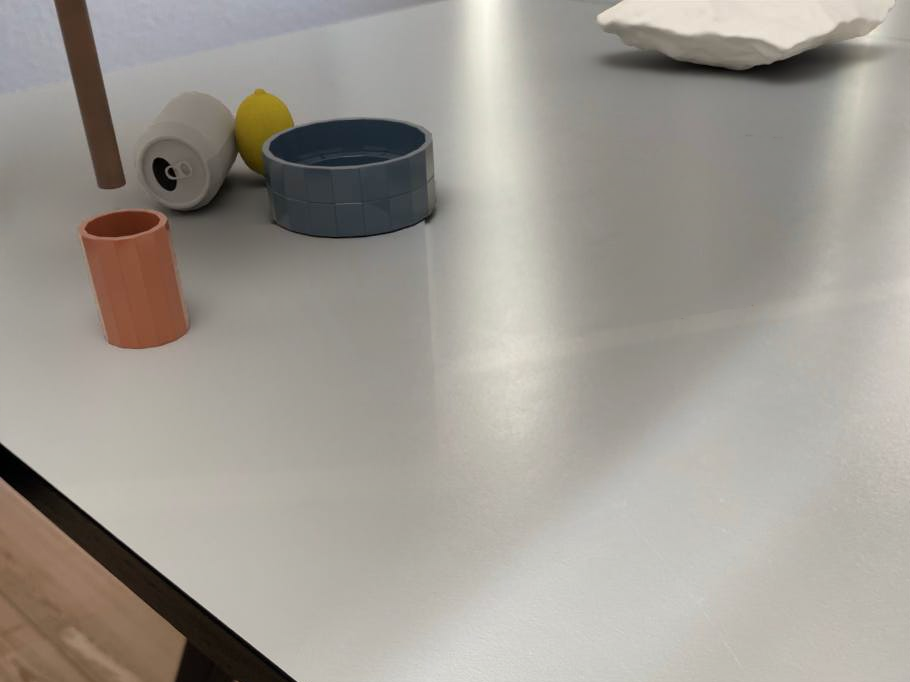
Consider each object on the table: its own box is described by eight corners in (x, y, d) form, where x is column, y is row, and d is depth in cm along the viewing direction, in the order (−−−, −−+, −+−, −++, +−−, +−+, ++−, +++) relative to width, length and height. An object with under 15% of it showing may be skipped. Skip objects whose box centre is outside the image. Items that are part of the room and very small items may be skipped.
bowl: (266, 248, 92) (254, 172, 88) (279, 190, 103) (269, 121, 99) (438, 239, 92) (434, 163, 88) (434, 183, 103) (430, 113, 99)
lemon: (236, 177, 106) (221, 86, 101) (292, 168, 108) (280, 77, 102) (251, 194, 102) (236, 100, 97) (309, 184, 104) (298, 91, 99)
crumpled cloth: (931, 70, 122) (946, -27, 118) (612, 81, 121) (615, -16, 117) (859, 56, 142) (870, -28, 138) (585, 65, 142) (587, -18, 137)
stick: (95, 190, 72) (2, -197, 59) (100, 181, 73) (11, -199, 61) (123, 189, 72) (37, -198, 59) (128, 180, 73) (45, -200, 61)
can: (147, 102, 103) (112, 142, 94) (221, 78, 102) (193, 115, 93) (183, 183, 108) (154, 228, 99) (255, 160, 106) (231, 203, 97)
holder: (99, 357, 77) (68, 242, 72) (115, 321, 82) (87, 210, 76) (184, 353, 77) (159, 237, 72) (195, 317, 82) (173, 206, 77)
